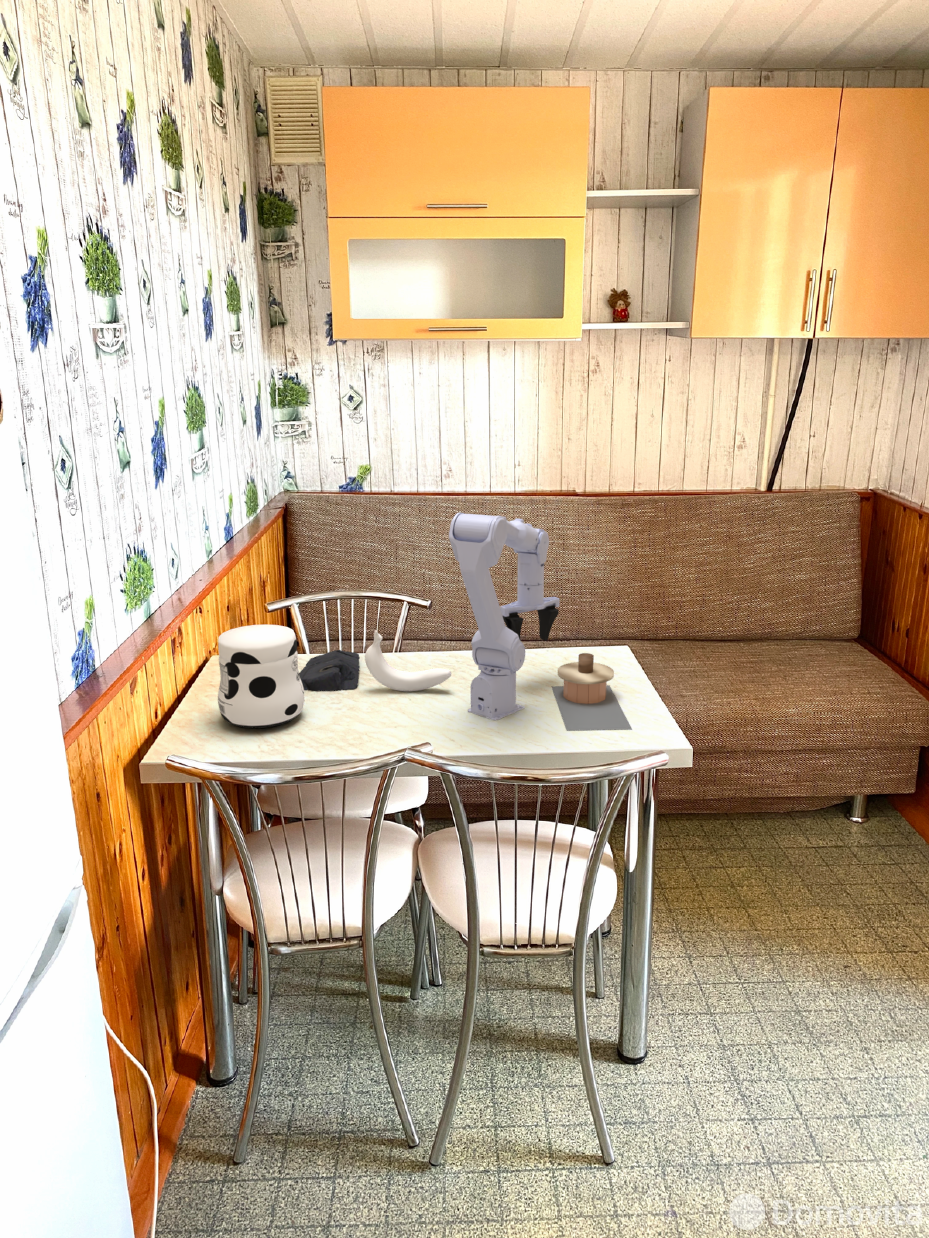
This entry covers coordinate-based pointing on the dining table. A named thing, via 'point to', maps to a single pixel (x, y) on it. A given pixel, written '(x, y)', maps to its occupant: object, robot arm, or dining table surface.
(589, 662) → the lid
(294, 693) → the milk container
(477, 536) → the robot arm
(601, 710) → the mat
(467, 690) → the dining table surface
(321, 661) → the dark slate chunk
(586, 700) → the bowl
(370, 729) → the dining table surface
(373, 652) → the banana
